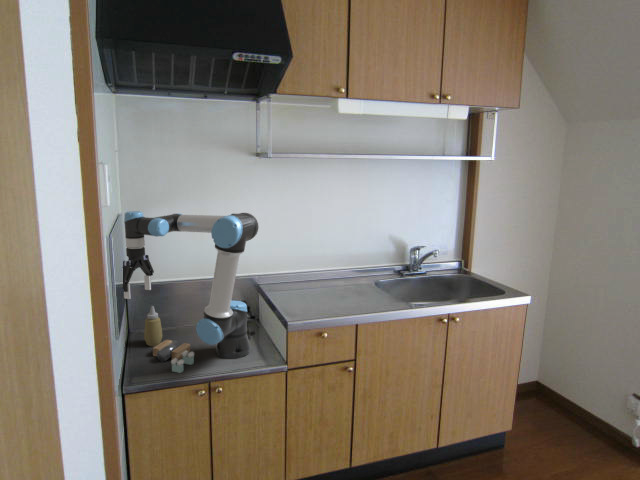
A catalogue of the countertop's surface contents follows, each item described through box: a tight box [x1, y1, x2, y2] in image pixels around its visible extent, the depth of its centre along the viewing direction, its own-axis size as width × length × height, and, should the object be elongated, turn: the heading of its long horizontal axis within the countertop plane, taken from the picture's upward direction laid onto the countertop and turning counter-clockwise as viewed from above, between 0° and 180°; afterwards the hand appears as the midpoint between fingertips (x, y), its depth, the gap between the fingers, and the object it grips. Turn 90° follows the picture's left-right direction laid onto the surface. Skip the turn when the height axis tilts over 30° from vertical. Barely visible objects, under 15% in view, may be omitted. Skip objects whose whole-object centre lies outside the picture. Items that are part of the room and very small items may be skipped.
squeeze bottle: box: [143, 305, 163, 347], centre depth 202 cm, size 8×8×18 cm
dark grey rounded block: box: [156, 340, 183, 362], centre depth 193 cm, size 11×5×5 cm, turn 163°
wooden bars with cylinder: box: [152, 339, 191, 361], centre depth 195 cm, size 12×10×4 cm
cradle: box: [170, 350, 195, 374], centre depth 183 cm, size 10×5×5 cm, turn 163°
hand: (138, 294), depth 197 cm, fingers open, 13 cm apart
